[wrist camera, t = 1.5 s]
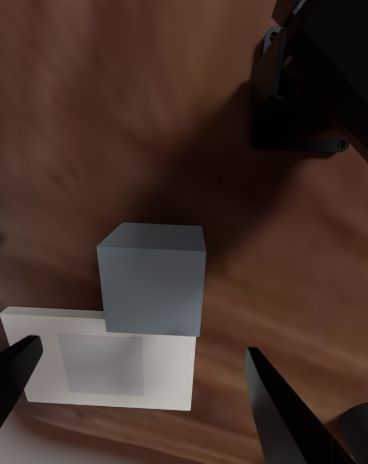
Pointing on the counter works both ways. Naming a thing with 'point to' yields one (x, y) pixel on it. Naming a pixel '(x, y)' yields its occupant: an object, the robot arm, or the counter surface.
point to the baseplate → (102, 361)
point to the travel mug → (356, 432)
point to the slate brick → (153, 279)
